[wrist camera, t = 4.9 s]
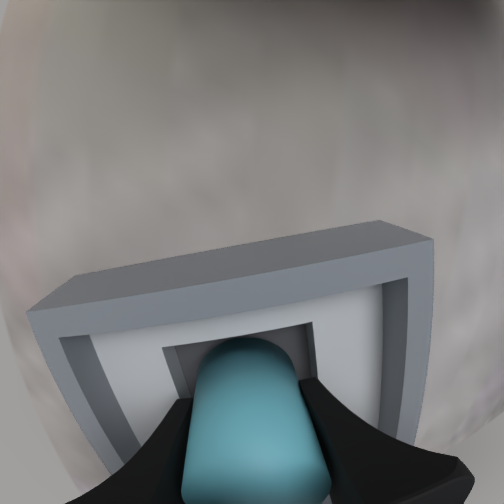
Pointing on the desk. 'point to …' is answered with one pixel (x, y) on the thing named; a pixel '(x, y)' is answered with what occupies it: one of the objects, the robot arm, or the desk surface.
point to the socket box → (245, 328)
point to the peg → (251, 431)
